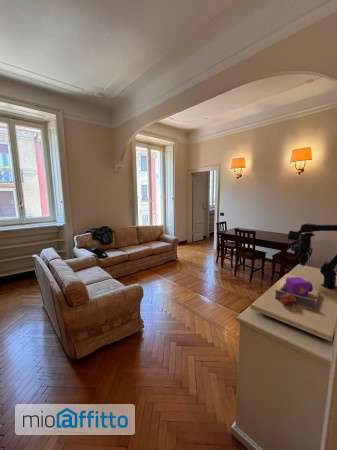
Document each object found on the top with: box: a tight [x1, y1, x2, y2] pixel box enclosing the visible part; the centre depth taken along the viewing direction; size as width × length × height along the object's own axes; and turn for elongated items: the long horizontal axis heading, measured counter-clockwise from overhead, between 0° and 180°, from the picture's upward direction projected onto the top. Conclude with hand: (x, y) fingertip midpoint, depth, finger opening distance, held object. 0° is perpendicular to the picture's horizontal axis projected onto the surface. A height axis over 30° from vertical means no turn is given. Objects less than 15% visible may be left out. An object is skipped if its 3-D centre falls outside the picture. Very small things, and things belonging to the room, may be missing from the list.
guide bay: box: [275, 282, 321, 311], centre depth 120 cm, size 20×19×5 cm
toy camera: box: [285, 276, 314, 298], centre depth 123 cm, size 11×14×10 cm
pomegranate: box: [280, 291, 297, 310], centre depth 111 cm, size 7×7×10 cm
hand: (304, 264), depth 140 cm, fingers open, 9 cm apart
